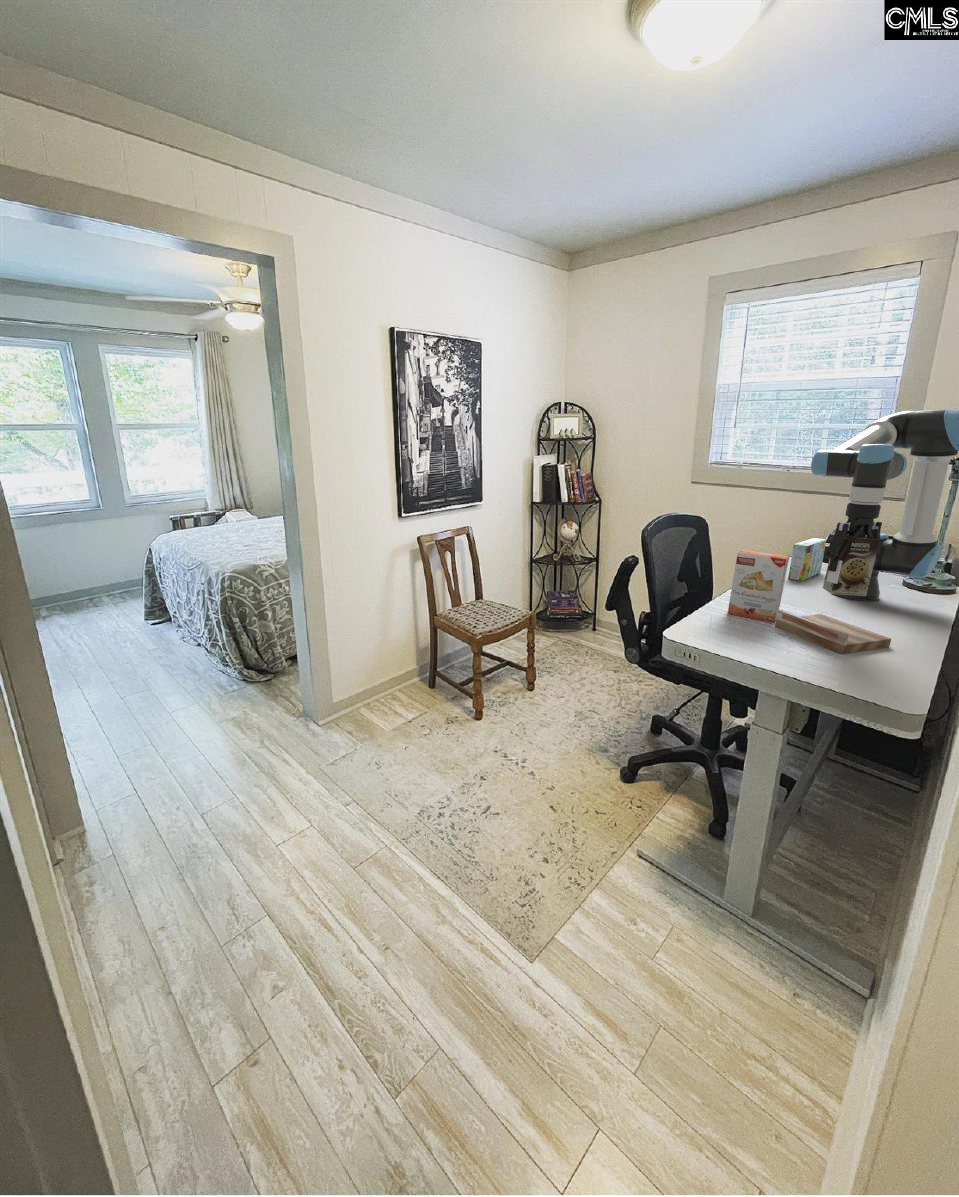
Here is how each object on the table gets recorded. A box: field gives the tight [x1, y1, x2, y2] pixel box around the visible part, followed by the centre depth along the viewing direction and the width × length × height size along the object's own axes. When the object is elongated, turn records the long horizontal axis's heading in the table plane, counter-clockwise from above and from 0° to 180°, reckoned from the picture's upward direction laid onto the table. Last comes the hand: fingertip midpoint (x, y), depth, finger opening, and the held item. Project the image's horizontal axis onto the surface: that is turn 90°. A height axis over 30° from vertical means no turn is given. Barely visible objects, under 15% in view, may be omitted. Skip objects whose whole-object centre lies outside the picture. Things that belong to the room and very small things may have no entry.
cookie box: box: [822, 537, 880, 596], centre depth 149 cm, size 9×6×16 cm
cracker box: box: [727, 549, 790, 623], centre depth 168 cm, size 14×6×21 cm, turn 52°
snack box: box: [787, 537, 827, 582], centre depth 219 cm, size 21×6×15 cm, turn 130°
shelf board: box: [774, 609, 892, 655], centre depth 154 cm, size 18×22×6 cm
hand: (846, 581), depth 150 cm, fingers closed on cookie box, 10 cm apart
